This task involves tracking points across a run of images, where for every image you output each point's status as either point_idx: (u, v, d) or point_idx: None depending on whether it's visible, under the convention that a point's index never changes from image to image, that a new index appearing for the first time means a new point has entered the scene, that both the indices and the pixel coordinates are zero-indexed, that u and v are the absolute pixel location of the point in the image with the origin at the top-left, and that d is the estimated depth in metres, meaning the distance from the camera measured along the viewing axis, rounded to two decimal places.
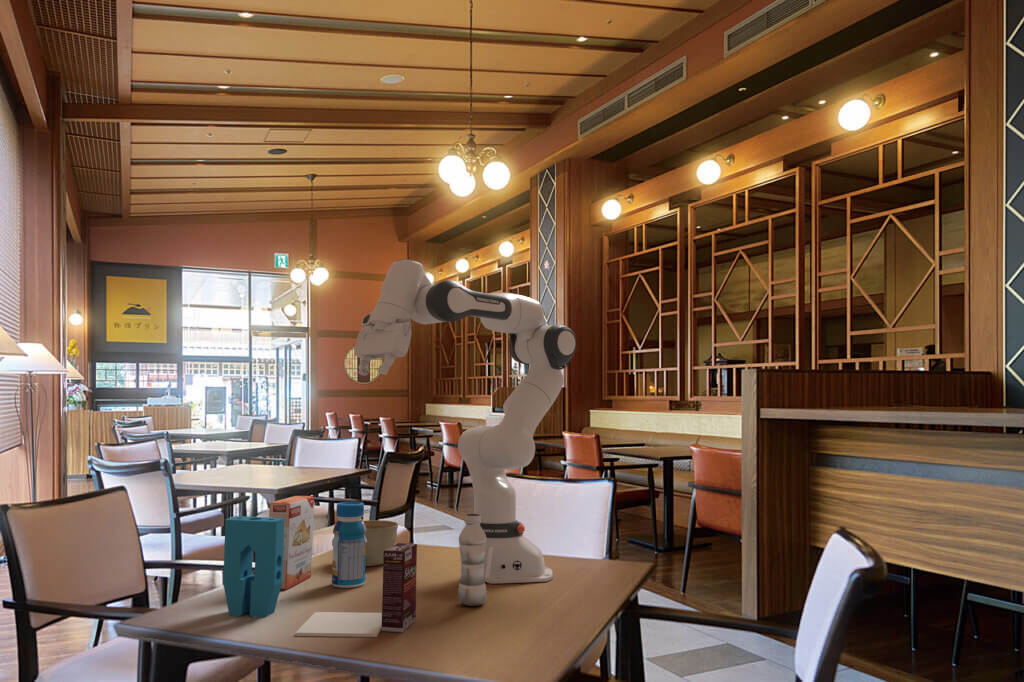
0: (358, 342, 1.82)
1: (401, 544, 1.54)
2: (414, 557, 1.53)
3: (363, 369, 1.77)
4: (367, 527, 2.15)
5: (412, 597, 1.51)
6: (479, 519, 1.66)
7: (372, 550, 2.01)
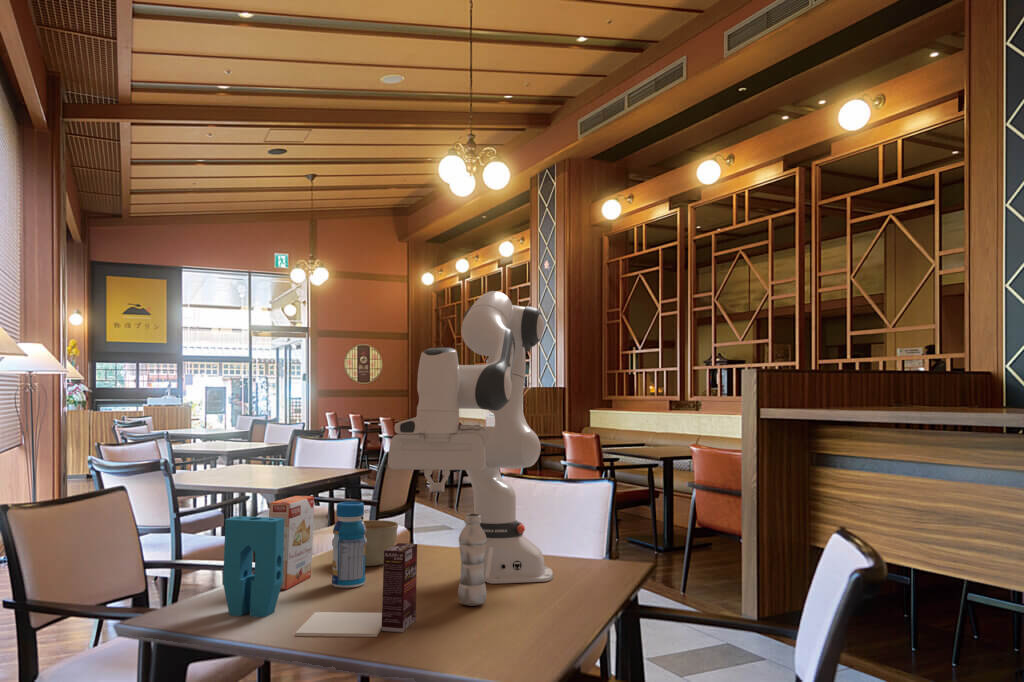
0: (394, 453, 1.51)
1: (401, 544, 1.54)
2: (414, 557, 1.53)
3: (436, 486, 1.51)
4: (367, 527, 2.15)
5: (412, 597, 1.51)
6: (479, 519, 1.66)
7: (372, 550, 2.01)
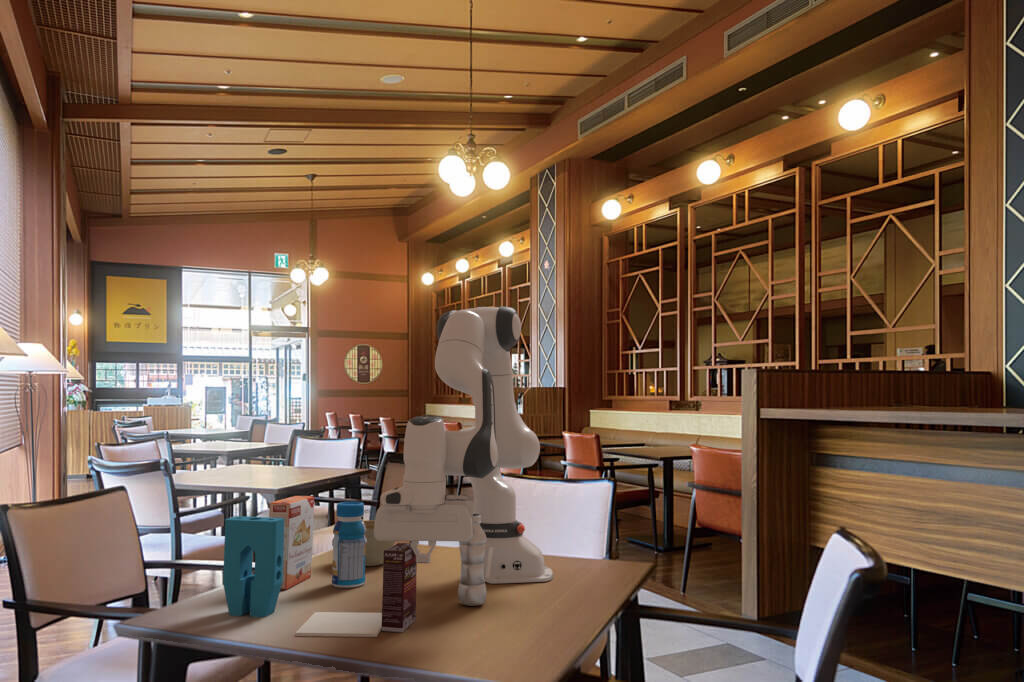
0: (380, 524, 1.49)
1: (401, 544, 1.54)
2: (414, 557, 1.53)
3: None
4: (367, 527, 2.15)
5: (412, 597, 1.51)
6: (479, 519, 1.66)
7: (372, 550, 2.01)
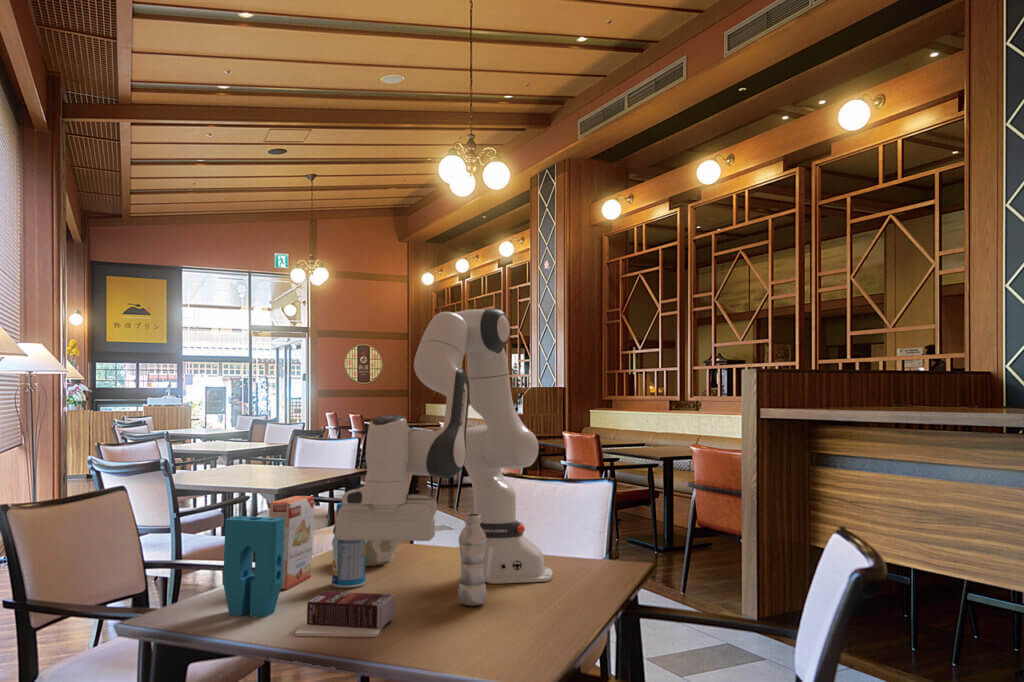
0: (342, 524, 1.49)
1: None
2: (331, 593, 1.54)
3: None
4: None
5: (365, 596, 1.52)
6: (479, 519, 1.66)
7: (372, 550, 2.01)
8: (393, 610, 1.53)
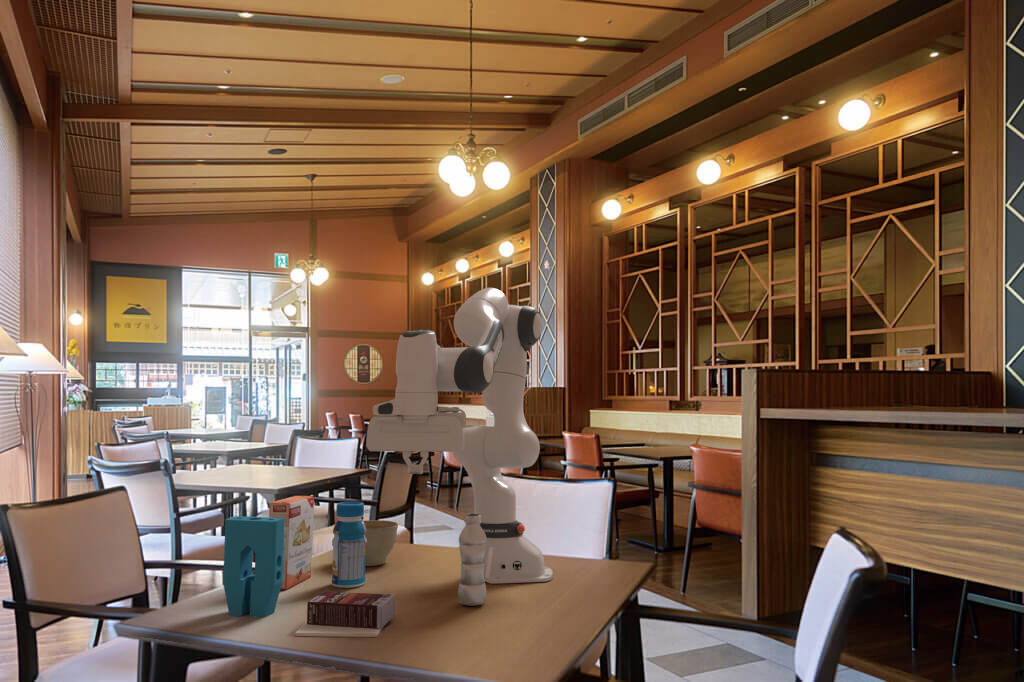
0: (373, 435, 1.51)
1: None
2: (331, 593, 1.54)
3: None
4: (367, 527, 2.15)
5: (365, 596, 1.52)
6: (479, 519, 1.66)
7: (372, 550, 2.01)
8: (393, 610, 1.53)
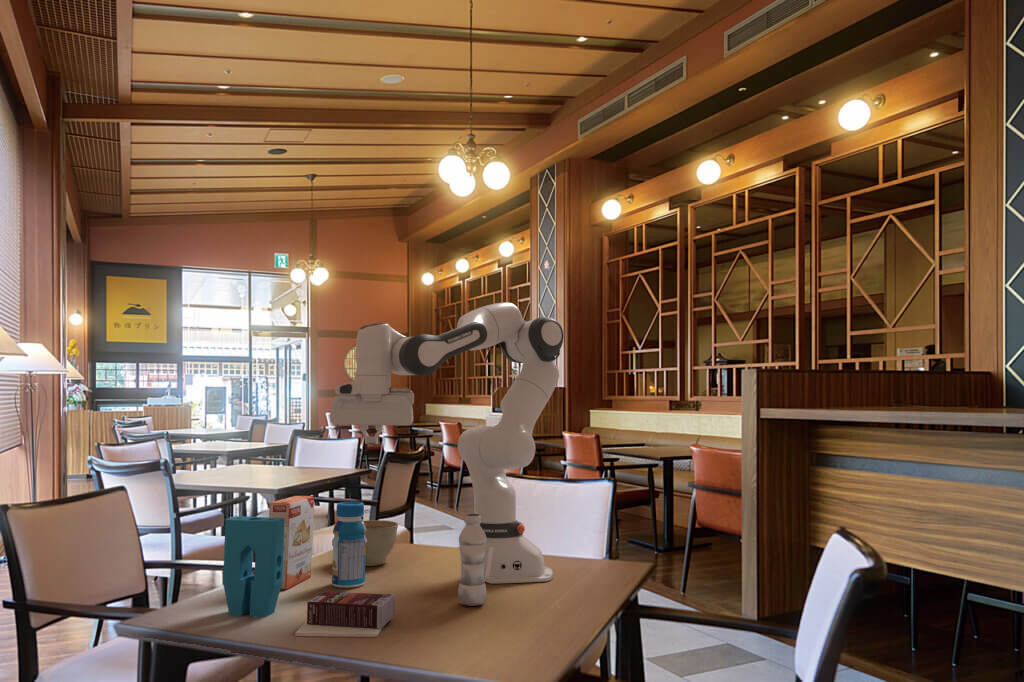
0: (335, 411, 1.79)
1: None
2: (331, 593, 1.54)
3: (370, 439, 1.80)
4: (367, 527, 2.15)
5: (365, 596, 1.52)
6: (479, 519, 1.66)
7: (372, 550, 2.01)
8: (393, 610, 1.53)
